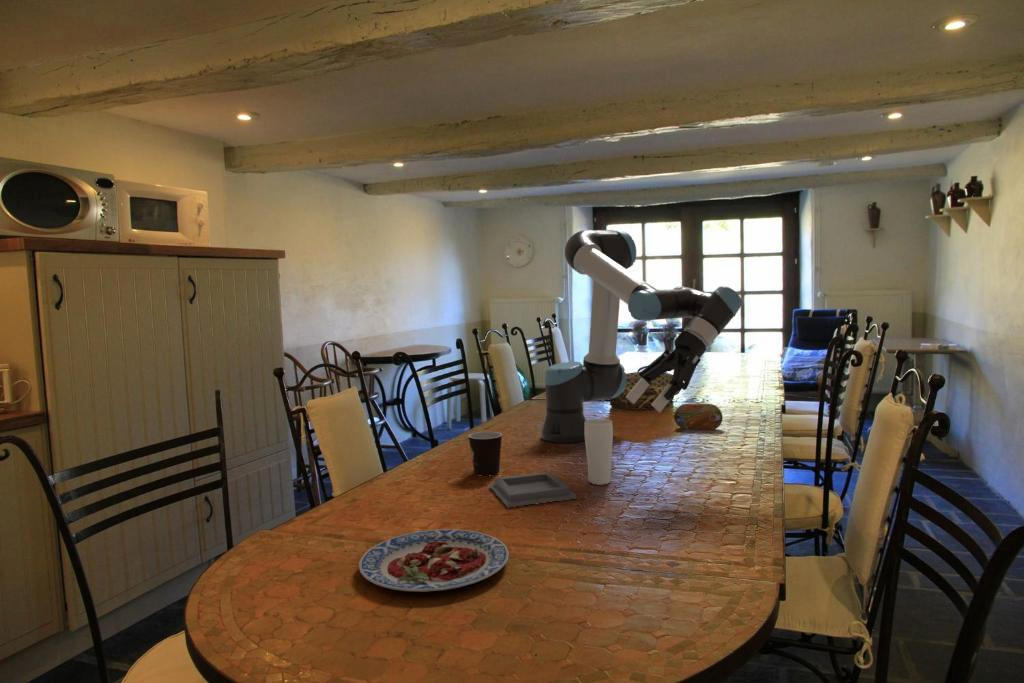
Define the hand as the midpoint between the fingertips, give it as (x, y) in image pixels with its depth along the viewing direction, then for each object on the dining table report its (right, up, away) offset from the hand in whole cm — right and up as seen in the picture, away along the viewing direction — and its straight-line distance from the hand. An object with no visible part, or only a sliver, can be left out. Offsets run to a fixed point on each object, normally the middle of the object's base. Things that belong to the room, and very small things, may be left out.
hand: (642, 404), depth 164 cm
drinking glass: (-10, -19, -1) cm, 22 cm away
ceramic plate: (-45, -24, -47) cm, 70 cm away
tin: (+29, -13, +54) cm, 62 cm away
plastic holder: (-27, -20, -8) cm, 35 cm away
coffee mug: (-38, -19, +12) cm, 44 cm away
